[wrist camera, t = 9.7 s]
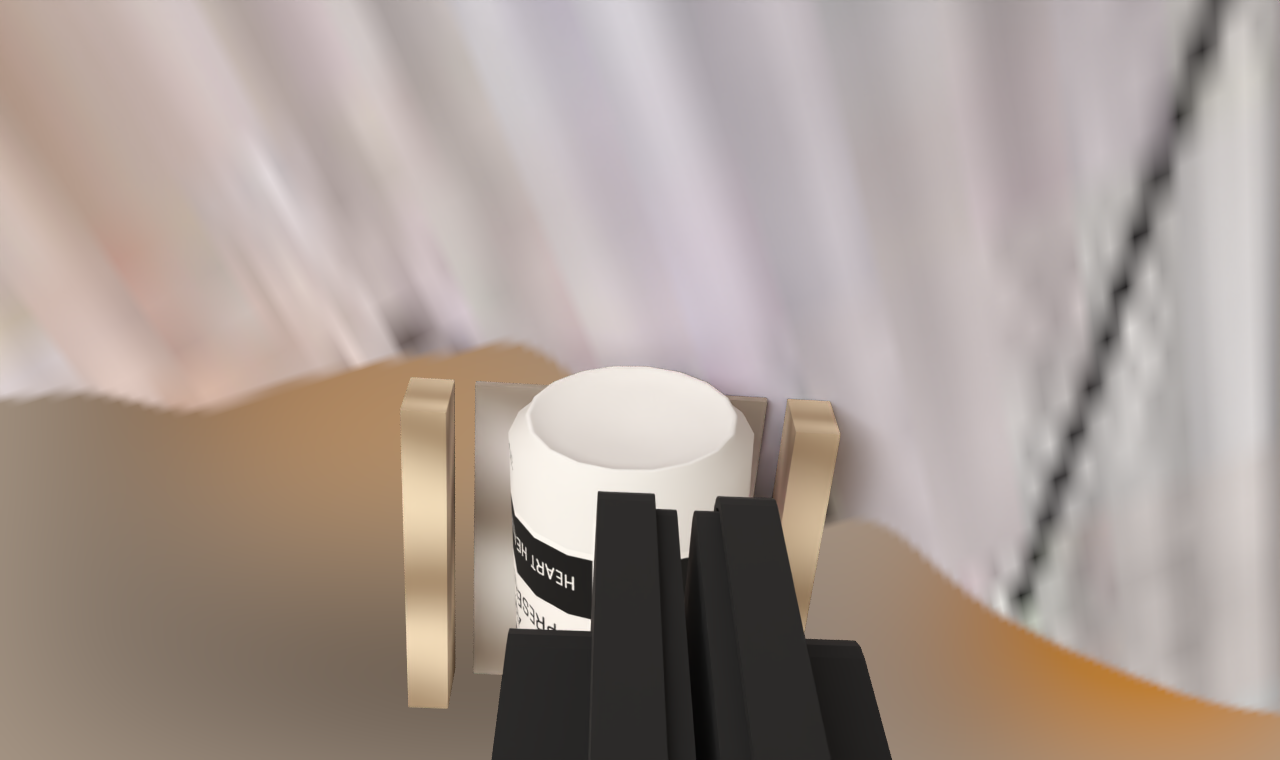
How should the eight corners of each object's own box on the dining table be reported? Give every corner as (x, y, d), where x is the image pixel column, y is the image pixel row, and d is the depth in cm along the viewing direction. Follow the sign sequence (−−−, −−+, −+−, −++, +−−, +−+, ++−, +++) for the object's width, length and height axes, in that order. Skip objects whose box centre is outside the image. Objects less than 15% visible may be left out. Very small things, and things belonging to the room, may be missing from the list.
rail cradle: (410, 377, 43) (399, 409, 41) (829, 401, 44) (840, 434, 41) (417, 666, 49) (408, 706, 47) (780, 682, 50) (788, 723, 48)
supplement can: (780, 380, 41) (752, 698, 48) (563, 342, 43) (567, 652, 50) (719, 504, 34) (697, 853, 41) (464, 451, 36) (486, 791, 44)
